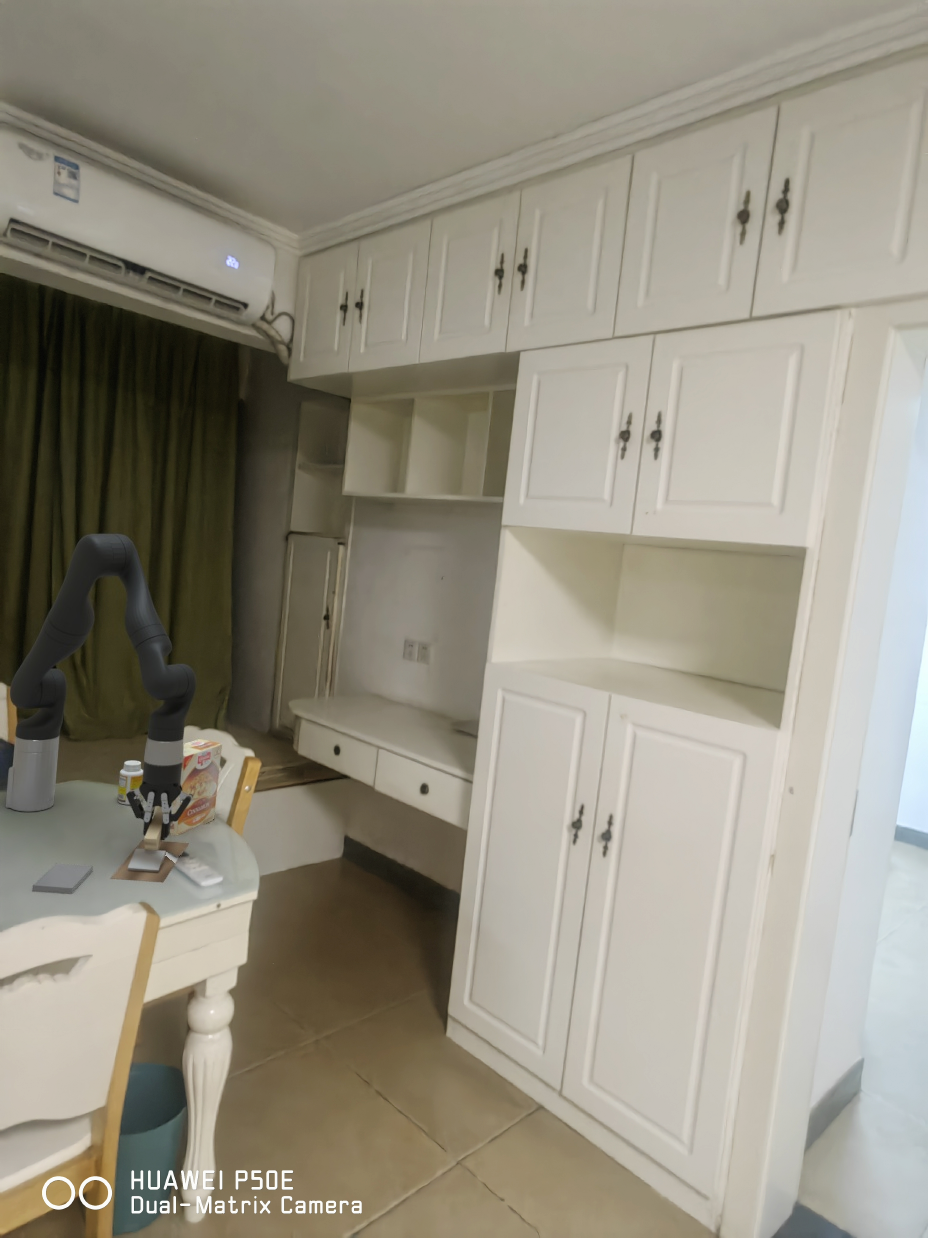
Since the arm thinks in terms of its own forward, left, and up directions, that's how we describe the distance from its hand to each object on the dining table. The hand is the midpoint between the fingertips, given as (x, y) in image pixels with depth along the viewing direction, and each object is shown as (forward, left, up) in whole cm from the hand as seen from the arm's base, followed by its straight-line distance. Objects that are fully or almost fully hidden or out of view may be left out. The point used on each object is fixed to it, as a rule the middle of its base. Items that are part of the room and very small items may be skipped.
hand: (156, 838), depth 159 cm
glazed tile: (-13, -9, -4) cm, 16 cm away
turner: (0, -1, -1) cm, 2 cm away
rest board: (0, -1, -5) cm, 5 cm away
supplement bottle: (-16, +34, -5) cm, 38 cm away
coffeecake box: (+1, +21, -5) cm, 21 cm away
